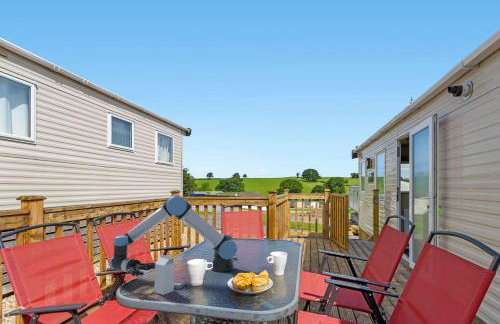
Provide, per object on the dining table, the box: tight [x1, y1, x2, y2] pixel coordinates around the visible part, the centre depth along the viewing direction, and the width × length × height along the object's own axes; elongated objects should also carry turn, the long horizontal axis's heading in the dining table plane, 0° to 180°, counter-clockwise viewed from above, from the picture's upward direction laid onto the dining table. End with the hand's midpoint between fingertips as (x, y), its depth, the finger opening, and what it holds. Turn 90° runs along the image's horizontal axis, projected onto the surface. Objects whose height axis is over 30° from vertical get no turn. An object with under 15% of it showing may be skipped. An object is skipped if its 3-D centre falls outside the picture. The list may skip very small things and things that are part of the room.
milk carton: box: [153, 254, 175, 296], centre depth 165 cm, size 7×7×19 cm
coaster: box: [132, 285, 155, 296], centre depth 166 cm, size 10×10×1 cm
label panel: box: [153, 281, 187, 290], centre depth 174 cm, size 16×9×1 cm, turn 81°
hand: (158, 271), depth 166 cm, fingers open, 13 cm apart
